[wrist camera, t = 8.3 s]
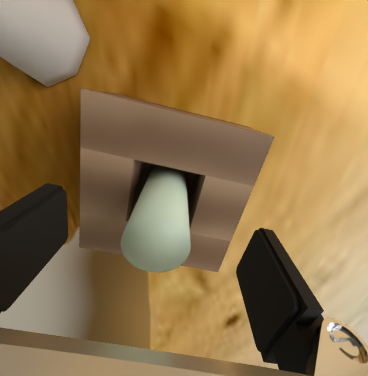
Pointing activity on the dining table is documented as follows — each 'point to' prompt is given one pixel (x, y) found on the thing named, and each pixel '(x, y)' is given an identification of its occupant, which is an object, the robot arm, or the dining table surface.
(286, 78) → the dining table surface
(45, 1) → the flask
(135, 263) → the peg
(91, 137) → the socket block
